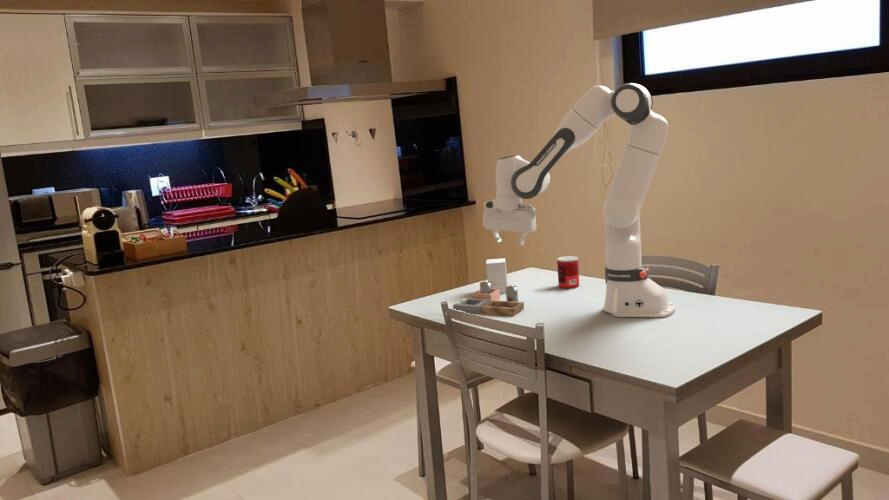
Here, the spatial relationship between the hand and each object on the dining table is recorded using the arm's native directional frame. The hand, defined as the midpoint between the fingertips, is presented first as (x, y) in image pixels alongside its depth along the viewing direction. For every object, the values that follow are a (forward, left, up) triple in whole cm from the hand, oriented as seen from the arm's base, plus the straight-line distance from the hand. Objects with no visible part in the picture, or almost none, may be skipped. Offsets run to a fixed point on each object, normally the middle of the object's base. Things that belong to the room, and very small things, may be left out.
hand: (509, 243), depth 235 cm
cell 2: (0, +1, -22) cm, 22 cm away
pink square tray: (+11, -1, -22) cm, 25 cm away
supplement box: (+13, -15, -23) cm, 30 cm away
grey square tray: (+12, +8, -22) cm, 27 cm away
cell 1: (+11, -1, -22) cm, 24 cm away
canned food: (-10, -29, -23) cm, 38 cm away
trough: (0, +9, -22) cm, 24 cm away
